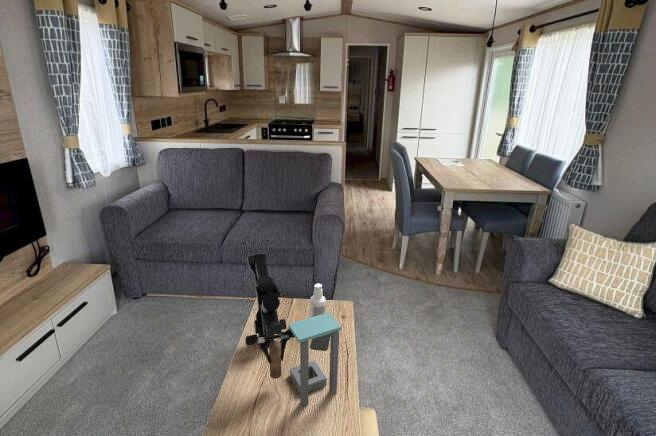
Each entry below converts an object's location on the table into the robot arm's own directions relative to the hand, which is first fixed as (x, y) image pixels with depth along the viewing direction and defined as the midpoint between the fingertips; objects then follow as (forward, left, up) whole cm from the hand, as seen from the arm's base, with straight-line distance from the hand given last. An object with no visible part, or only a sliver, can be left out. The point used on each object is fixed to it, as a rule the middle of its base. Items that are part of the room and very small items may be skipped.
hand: (276, 362), depth 130 cm
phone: (-18, +27, -12) cm, 34 cm away
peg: (-1, 0, -7) cm, 7 cm away
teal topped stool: (+6, +12, -12) cm, 18 cm away
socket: (+1, +12, -12) cm, 16 cm away
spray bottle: (-30, +31, -12) cm, 44 cm away
